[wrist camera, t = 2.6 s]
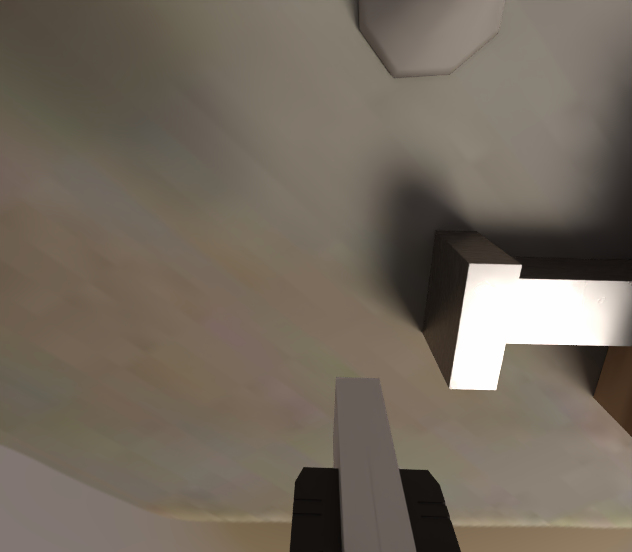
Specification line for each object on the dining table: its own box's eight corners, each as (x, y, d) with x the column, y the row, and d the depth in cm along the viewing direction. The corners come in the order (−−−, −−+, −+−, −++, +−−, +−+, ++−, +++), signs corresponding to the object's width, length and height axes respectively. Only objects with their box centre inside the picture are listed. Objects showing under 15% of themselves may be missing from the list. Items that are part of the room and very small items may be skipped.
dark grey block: (422, 332, 27) (449, 388, 22) (435, 230, 25) (469, 263, 19) (613, 337, 27) (689, 394, 22) (645, 235, 25) (740, 270, 19)
